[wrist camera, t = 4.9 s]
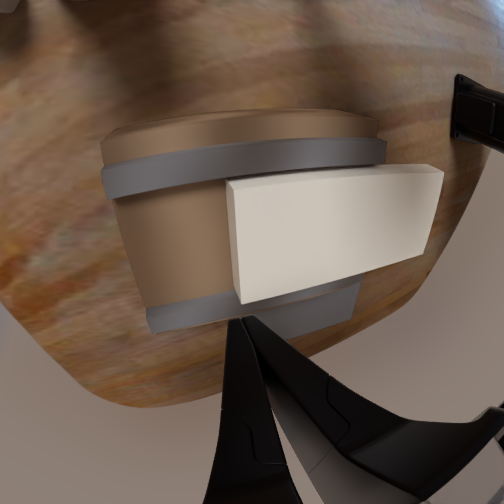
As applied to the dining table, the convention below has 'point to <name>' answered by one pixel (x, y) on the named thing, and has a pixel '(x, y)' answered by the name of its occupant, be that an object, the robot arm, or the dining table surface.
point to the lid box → (214, 199)
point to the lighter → (8, 5)
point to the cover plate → (326, 224)
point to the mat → (311, 313)
